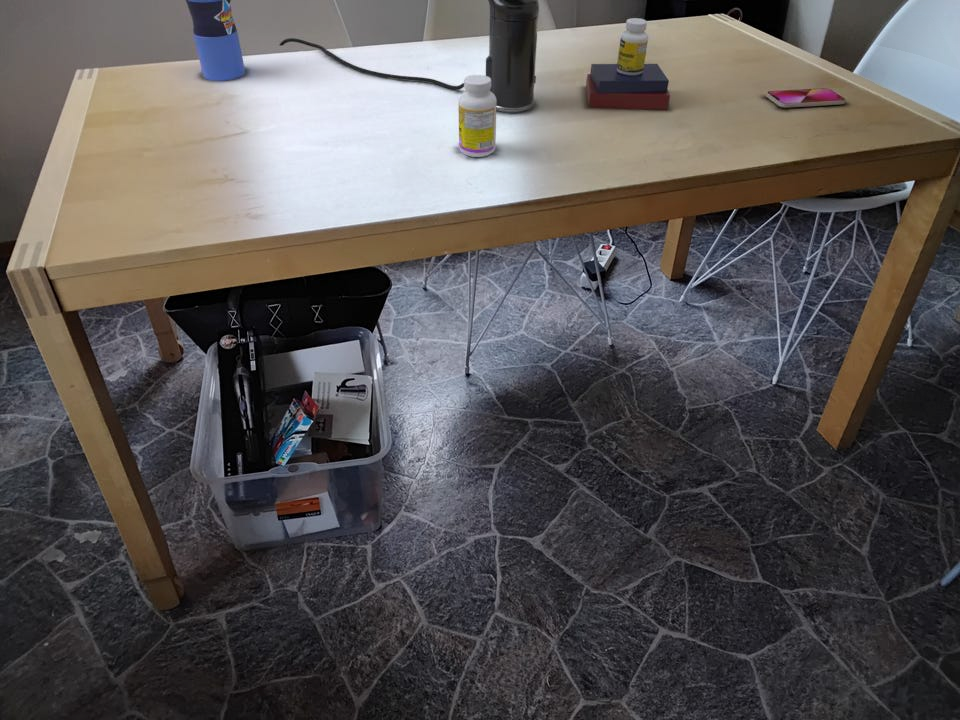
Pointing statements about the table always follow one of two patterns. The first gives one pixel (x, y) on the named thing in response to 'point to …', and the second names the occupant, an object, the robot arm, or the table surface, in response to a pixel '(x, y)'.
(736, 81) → the table surface
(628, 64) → the supplement bottle
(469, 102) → the supplement bottle
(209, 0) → the water bottle
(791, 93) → the smartphone
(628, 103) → the book stack
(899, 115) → the table surface
